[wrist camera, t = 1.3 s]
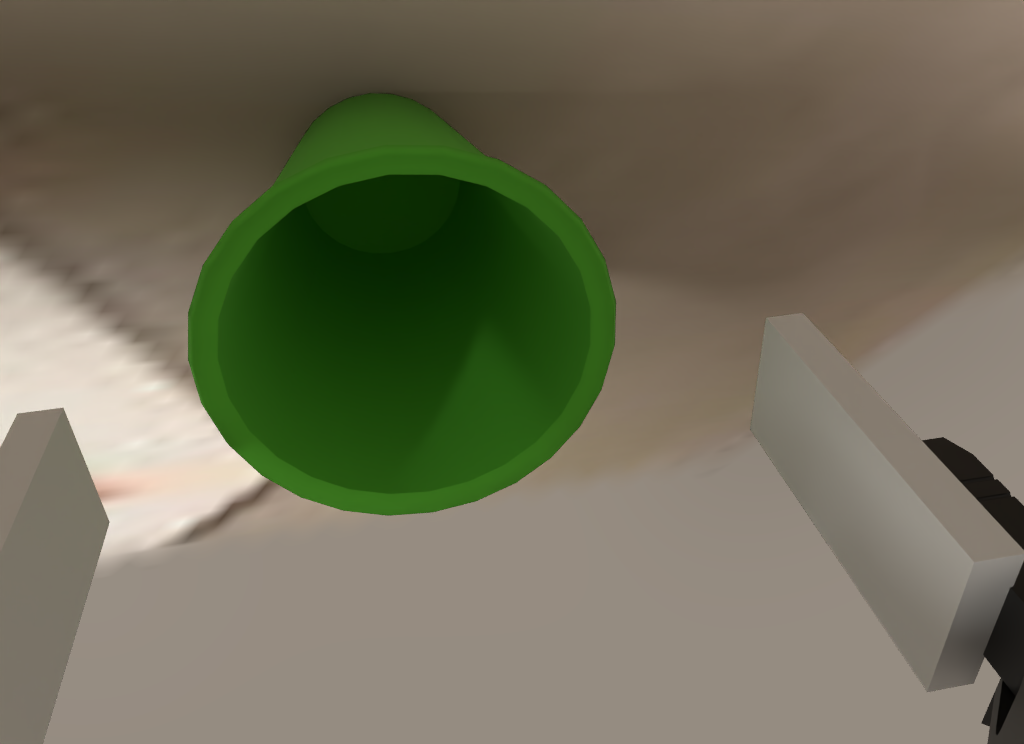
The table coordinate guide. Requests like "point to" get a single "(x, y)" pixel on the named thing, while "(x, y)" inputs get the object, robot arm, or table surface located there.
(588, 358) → the cup
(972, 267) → the table surface
